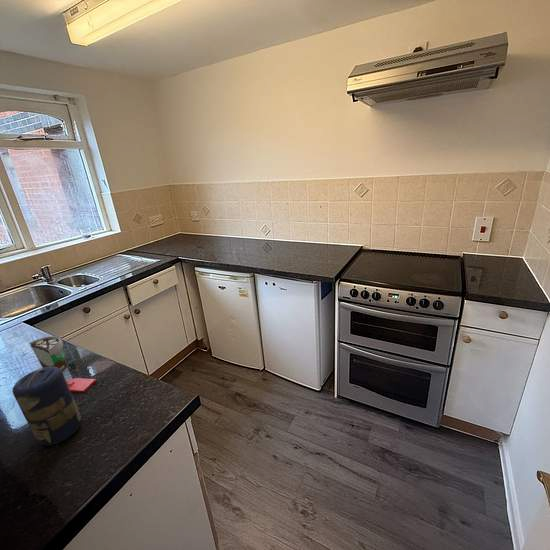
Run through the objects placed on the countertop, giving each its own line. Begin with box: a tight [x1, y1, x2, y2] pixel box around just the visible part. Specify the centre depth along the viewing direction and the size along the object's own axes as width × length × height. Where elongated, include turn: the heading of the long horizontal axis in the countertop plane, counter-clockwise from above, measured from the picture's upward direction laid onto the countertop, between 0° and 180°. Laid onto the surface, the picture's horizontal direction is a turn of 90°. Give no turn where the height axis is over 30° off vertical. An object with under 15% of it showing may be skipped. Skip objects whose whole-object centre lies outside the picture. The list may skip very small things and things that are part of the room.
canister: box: [12, 367, 82, 446], centre depth 72 cm, size 10×10×18 cm
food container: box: [29, 336, 68, 373], centre depth 100 cm, size 12×6×10 cm, turn 63°
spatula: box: [66, 377, 97, 393], centre depth 92 cm, size 20×5×1 cm, turn 80°
